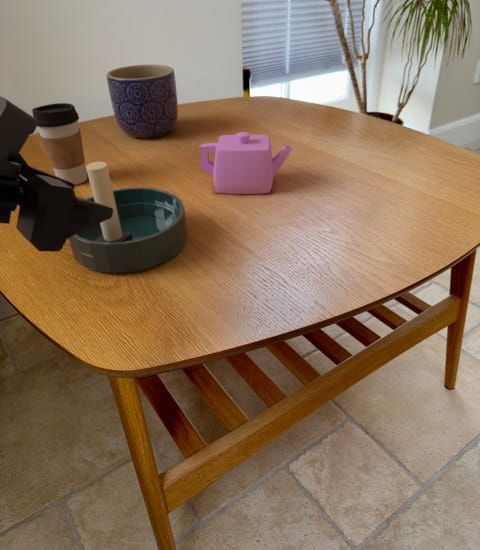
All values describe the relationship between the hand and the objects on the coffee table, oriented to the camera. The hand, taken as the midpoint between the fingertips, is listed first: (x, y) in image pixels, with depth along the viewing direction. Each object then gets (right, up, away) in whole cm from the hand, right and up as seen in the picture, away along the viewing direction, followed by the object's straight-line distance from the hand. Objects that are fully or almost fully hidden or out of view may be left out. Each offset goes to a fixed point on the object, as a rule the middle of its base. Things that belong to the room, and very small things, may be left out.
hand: (91, 199), depth 50 cm
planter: (-7, +29, +64) cm, 71 cm away
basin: (-1, -3, +21) cm, 21 cm away
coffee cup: (-18, +11, +41) cm, 46 cm away
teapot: (+18, +10, +37) cm, 43 cm away
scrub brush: (-2, -5, +18) cm, 19 cm away
